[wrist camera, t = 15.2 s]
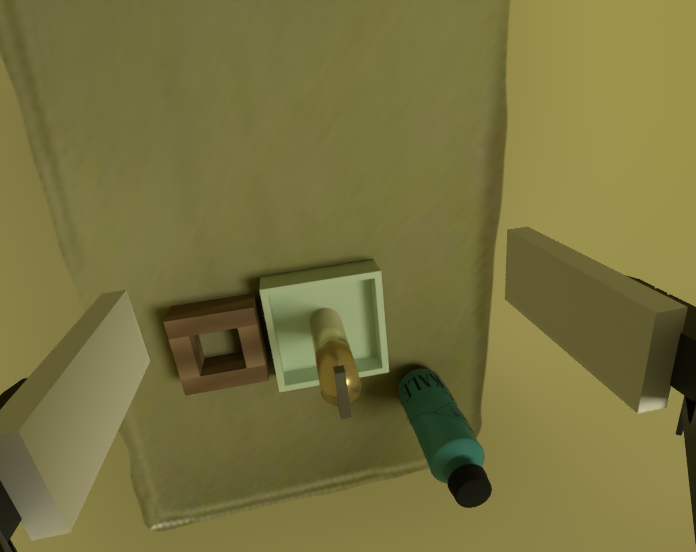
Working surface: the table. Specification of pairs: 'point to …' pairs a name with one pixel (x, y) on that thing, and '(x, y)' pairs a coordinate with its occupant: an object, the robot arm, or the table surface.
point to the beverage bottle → (445, 437)
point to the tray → (316, 293)
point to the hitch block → (218, 370)
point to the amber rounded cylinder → (334, 360)
